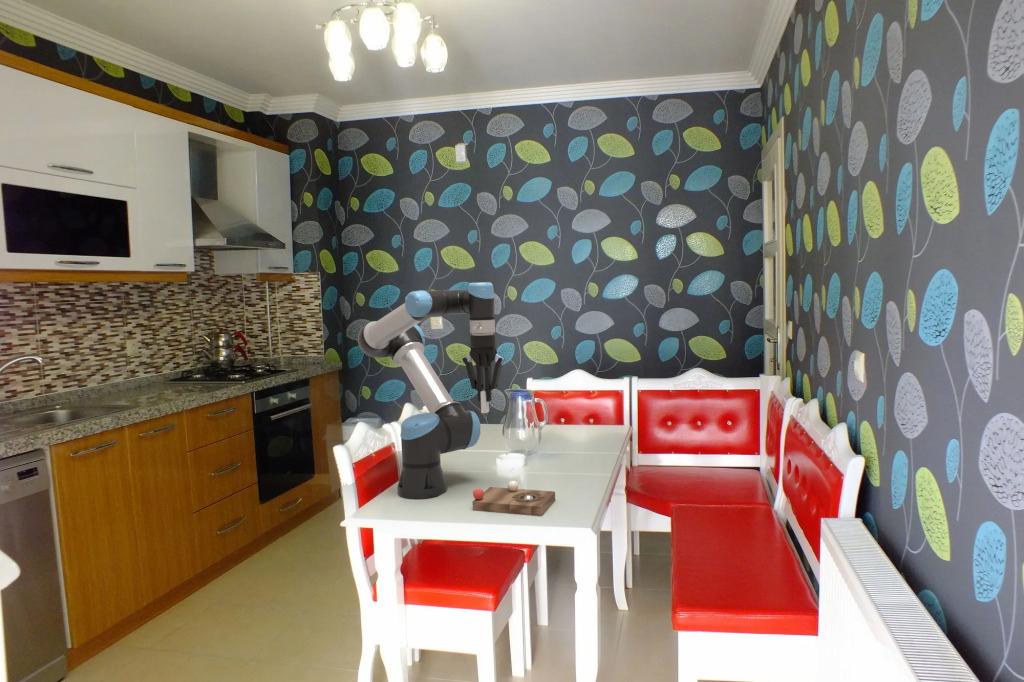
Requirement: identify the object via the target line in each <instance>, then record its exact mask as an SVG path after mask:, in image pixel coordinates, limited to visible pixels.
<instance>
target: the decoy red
mask: <svg viewBox="0 0 1024 682" xmlns="http://www.w3.org/2000/svg"><path fill="white" fill-rule="evenodd" d="M483 492H484V491H483V489H481V488H476V489H475V490H474V491H473V492H472V497H473V498H474V500H475V499H477V500H480V499H482V498H483V496H484V493H483Z"/></svg>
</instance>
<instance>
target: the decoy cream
mask: <svg viewBox="0 0 1024 682" xmlns="http://www.w3.org/2000/svg"><path fill="white" fill-rule="evenodd" d="M507 488H509V490H511V491H516V490H517V489H519V483H518V482H517V481H516V480H511V481H509V482H508V484H507Z"/></svg>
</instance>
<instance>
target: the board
mask: <svg viewBox="0 0 1024 682" xmlns="http://www.w3.org/2000/svg"><path fill="white" fill-rule="evenodd" d="M483 493H484V496H483V498H482V499H480V500H477V499H475V498H474V500H473V501H472V511H478V512H488V513H489V512H491V513H500V514H501V513H503V514H514V515H515V514H516V515H525V516H526V515H527V516H537V517H538V516H540V517H542V516H543V515H544V514H545V513H546V512H547V510H548V509H549V508H550V507H551V506H552V505H553V503H554V502H555V501H556V491H553V490H538V489H524V488H523V489H522V488H518V489H517V490H516V491H511V490H509V488H508V487H498V486H490V487H488V488H487V489H486V490H484V491H483ZM526 495H531V496H532V497H533V498H534V499H532V500H523V498H524V497H525V496H526Z"/></svg>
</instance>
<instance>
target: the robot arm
mask: <svg viewBox="0 0 1024 682" xmlns="http://www.w3.org/2000/svg"><path fill="white" fill-rule="evenodd" d="M467 288H468V289H443V290H442V289H441V290H421V289H420V290H415V291H410V292H409V293H408V294H407V295H406V297H405V301H404V303H402V304H401V305H399V306H398V307H397V308H394V310H392V311H391V312H389V313H387V314H386V315H384V316H383V317H381V318H380V319H378V320H377V321H375V320H374V321H373V320H372V321H370V322H368V323H367V324H365V325H364V326H363V327H361V329H360V330H359V332H358V335H357V343H358V344H357V345H358V347H359V348H360V350H361V351H362V352H363V354H365V355H366V356H368V357H370V358H376V359H382V358H383V359H384V358H391V360H392V362H393V363H394V365H396V366H397V367H402V370H403V371H404V373H405V375H406V376H407V378H408V379H409V381H410V383H411V385H412V386H413V388H414V390H415V391H416V393H417V394H418V396H419V398H420V399H421V401H422V403H423V405H424V406H425V408H426V410H427V411H428V412H424V413H417V414H414V415H411V416H408V417H407V418H404V419H403V421H402V422H401V424H400V441H401V444H400V445H401V461H402V462H401V463H402V469H401V473H400V476H399V479H398V484H397V494H398V495H399V496H400V497H402V498H406V499H414V500H415V499H416V500H417V499H430V498H435V497H438V496H442V495H443V494H445V493H447V491H448V482H447V479H446V477H445V474H444V471H443V468H442V466H441V465H442V464H441V455H442V454H448V453H452V452H455V451H457V452H458V451H461V450H466V449H468V448H472V447H474V446H475V445H476V444H477V443H478V442H479V440H480V436H481V429H482V428H481V422H480V418H479V417H478V415H477V413H476V412H475V411H473V410H472V411H471V410H465V408H464V407H463V405H462V403H461V402H458V401H454V400H453V399H452V396H451V395H450V394H449V392H448V390H447V389H446V387H445V386H444V384H443V383H442V381H441V380H440V378H439V376H438V374H437V373H436V371H435V370H434V368H433V367H432V365H431V363H430V362H429V361H428V359H427V357H426V355H425V354H424V352H425V347H426V346H425V345H426V338H425V335H424V334H425V333H424V332H423V330H422V328H421V327H420V325H419V323H421V322H423V321H425V320H427V319H428V318H430V317H433V316H451V315H469V319H468V320H469V333H470V334H471V335H470V337H469V340H470V341H469V342H470V343H469V344H470V351H469V354H468V355H467V356H464V357H463V358H462V362H463V363H464V365H465V368H466V371H467V375H468V379H469V382H470V386H471V389H473V390H476V391H477V400H478V403H479V402H480V410H481V414H487V413H489V412H490V402H492V399H493V398H492V390H495V389H497V388H498V385H499V379H500V374H501V369H502V364H503V363H504V362H505V360H506V359H505V357H504V356H500V355H499V354H498V351H497V350H496V335H495V333H496V320H495V292H494V290H495V289H494V284H493V283H492V282H488V281H486V282H482V281H481V282H470V283H469V284H468V287H467ZM472 361H473V362H474V364H475V367H474V365H473V362H472ZM494 361H495V364H494V369H493V374H492V363H493V362H494ZM475 369H476V372H475Z"/></svg>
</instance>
